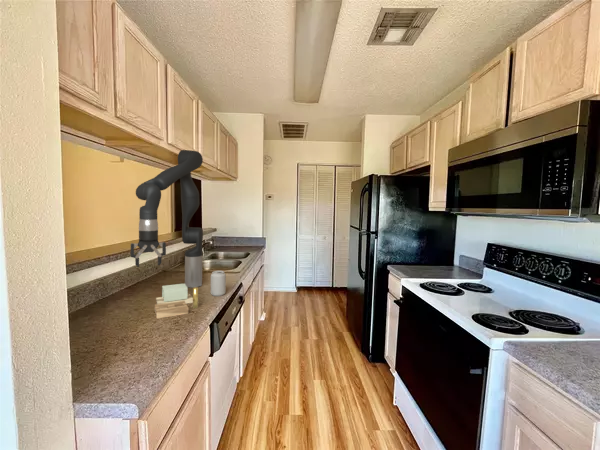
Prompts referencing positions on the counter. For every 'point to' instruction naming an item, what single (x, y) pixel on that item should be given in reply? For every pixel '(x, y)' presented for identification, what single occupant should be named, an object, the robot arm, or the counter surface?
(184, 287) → the cover
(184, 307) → the socket board
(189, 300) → the board
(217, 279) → the can
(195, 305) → the peg
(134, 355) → the counter surface
